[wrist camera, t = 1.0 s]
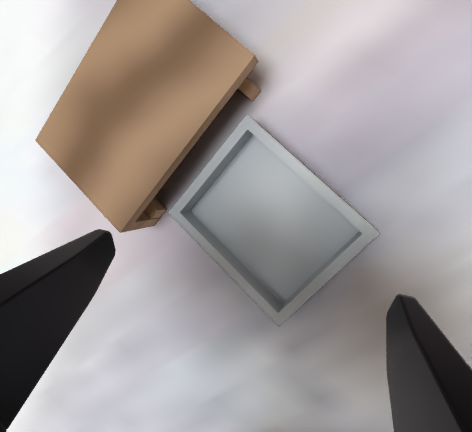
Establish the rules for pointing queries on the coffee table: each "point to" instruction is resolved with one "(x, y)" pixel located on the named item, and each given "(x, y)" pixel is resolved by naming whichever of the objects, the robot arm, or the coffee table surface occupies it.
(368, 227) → the grey shallow tray
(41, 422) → the coffee table surface
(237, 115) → the coffee table surface
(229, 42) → the overhang
